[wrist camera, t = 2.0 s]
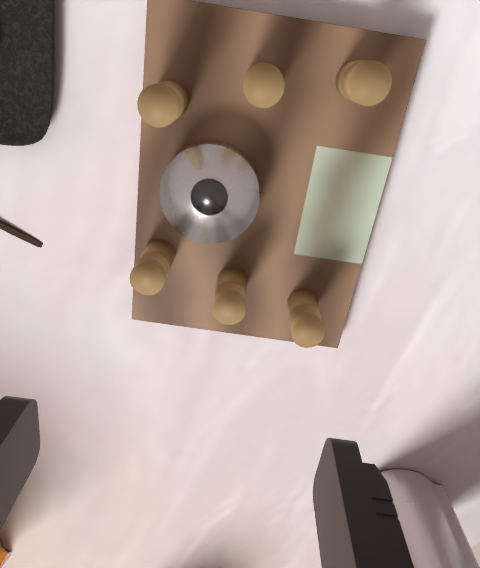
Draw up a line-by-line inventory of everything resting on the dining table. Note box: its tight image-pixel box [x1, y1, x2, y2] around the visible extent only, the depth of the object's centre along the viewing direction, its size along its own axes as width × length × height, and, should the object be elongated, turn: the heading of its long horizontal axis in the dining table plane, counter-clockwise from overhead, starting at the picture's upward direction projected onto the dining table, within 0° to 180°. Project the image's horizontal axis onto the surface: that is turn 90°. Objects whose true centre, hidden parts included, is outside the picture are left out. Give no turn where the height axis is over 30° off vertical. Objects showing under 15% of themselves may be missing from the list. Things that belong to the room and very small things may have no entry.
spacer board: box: [130, 0, 426, 348], centre depth 33 cm, size 18×24×6 cm
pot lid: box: [160, 140, 260, 244], centre depth 33 cm, size 7×7×3 cm
